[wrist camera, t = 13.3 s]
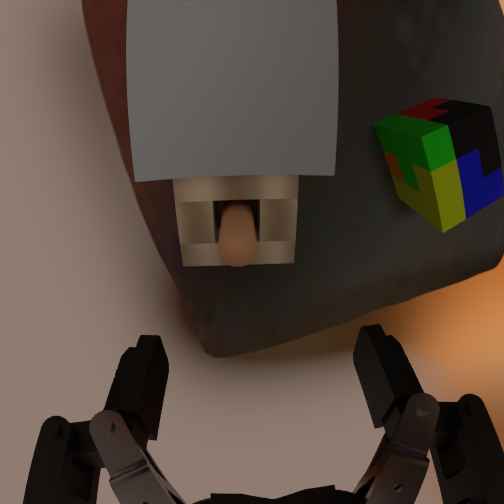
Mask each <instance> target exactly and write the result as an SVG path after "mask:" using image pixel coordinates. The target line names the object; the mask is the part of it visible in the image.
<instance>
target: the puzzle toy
mask: <svg viewBox="0 0 504 504" xmlns="http://www.w3.org/2000/svg"><path fill="white" fill-rule="evenodd" d="M373 126H374V128H375V131H376V133H377V136H378V139H379V141H380V144H381V147H382V149H383V152H384V155H385V158H386V160H387V163H388V166H389V169H390V172H391V175H392V178H393V182H394V185H395V188H396V191H397V195H398V198H399V199H400V200H402V201H403V202H404V203H406V204H407V205H408V206H410V207H411V208H412V209H414V210H415V211H416V212H418V213H419V214H420V215H421V216H423V217H424V218H425V219H426V220H428V221H429V222H430V223H431V224H433V225H434V226H435V227H436V228H438V229H439V230H440V231H441V232H442V233H443V232H445V231H447V230H449V229H450V228H452V227H454V226H455V225H457V224H459V223H460V222H462V221H463V220H465V219H467V218H468V217H470V216H472V215H473V214H475V213H476V212H478V211H480V210H481V209H483V208H484V207H486V206H487V205H489V204H490V203H492V202H493V201H495V200H497V199H498V198H500V197H501V196H503V195H504V187H503V176H502V168H501V160H500V153H499V147H498V141H497V135H496V130H495V125H494V120H493V116H492V112H491V108H490V106H485V105H479V104H474V103H468V102H461V101H455V100H447V99H439V98H434V99H432V100H429V101H427V102H424V103H421V104H419V105H416V106H414V107H412V108H409V109H407V110H404V111H402V112H399V113H397V114H395V115H392V116H390V117H388V118H385V119H383V120H381V121H378V122H376V123H374V124H373Z"/></svg>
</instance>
